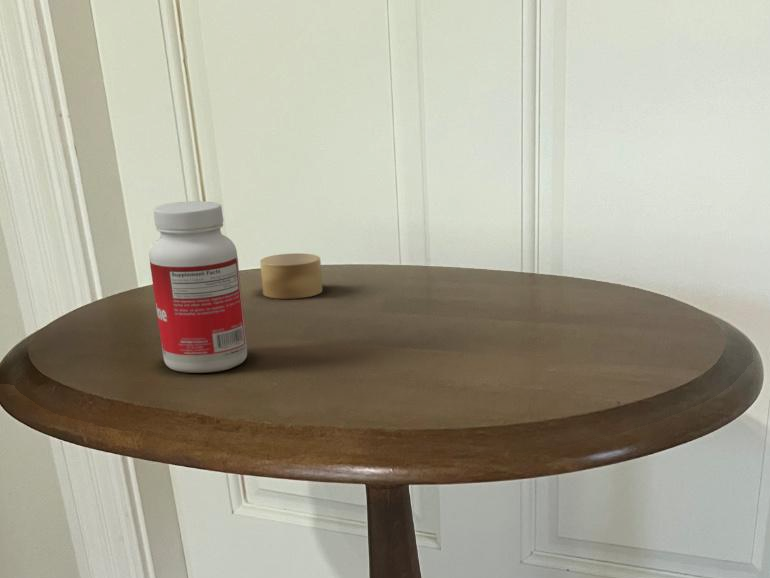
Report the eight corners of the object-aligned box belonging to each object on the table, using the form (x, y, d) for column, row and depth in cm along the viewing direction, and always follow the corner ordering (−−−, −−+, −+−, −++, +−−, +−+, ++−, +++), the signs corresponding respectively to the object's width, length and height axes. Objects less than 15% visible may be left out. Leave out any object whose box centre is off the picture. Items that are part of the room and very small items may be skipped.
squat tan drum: (260, 300, 98) (257, 266, 97) (265, 287, 103) (262, 254, 102) (321, 297, 98) (319, 263, 97) (323, 284, 103) (321, 252, 102)
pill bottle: (173, 352, 83) (153, 200, 78) (253, 350, 83) (238, 198, 78) (156, 376, 78) (132, 214, 72) (241, 374, 77) (224, 211, 72)
